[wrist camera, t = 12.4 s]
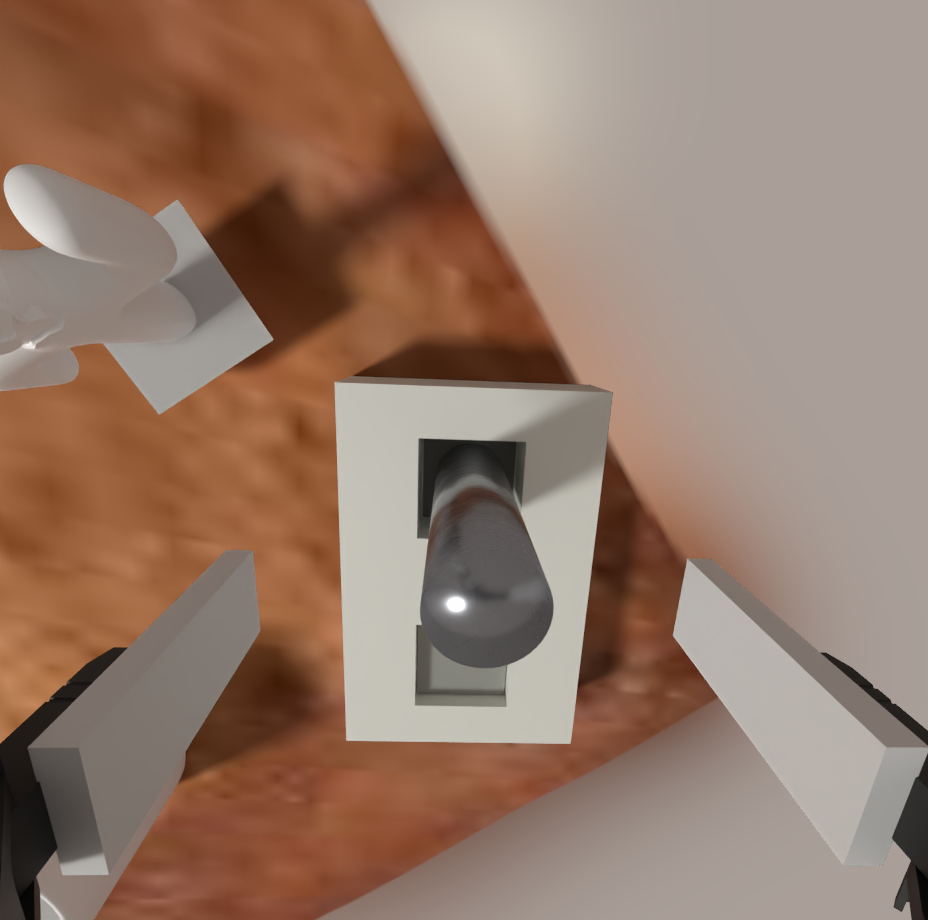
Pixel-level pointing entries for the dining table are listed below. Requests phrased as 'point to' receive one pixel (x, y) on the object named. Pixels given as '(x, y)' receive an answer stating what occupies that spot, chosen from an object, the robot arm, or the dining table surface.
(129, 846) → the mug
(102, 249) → the figurine
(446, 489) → the steel pin
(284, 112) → the dining table surface
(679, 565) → the dining table surface
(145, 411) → the dining table surface
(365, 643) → the bore block
